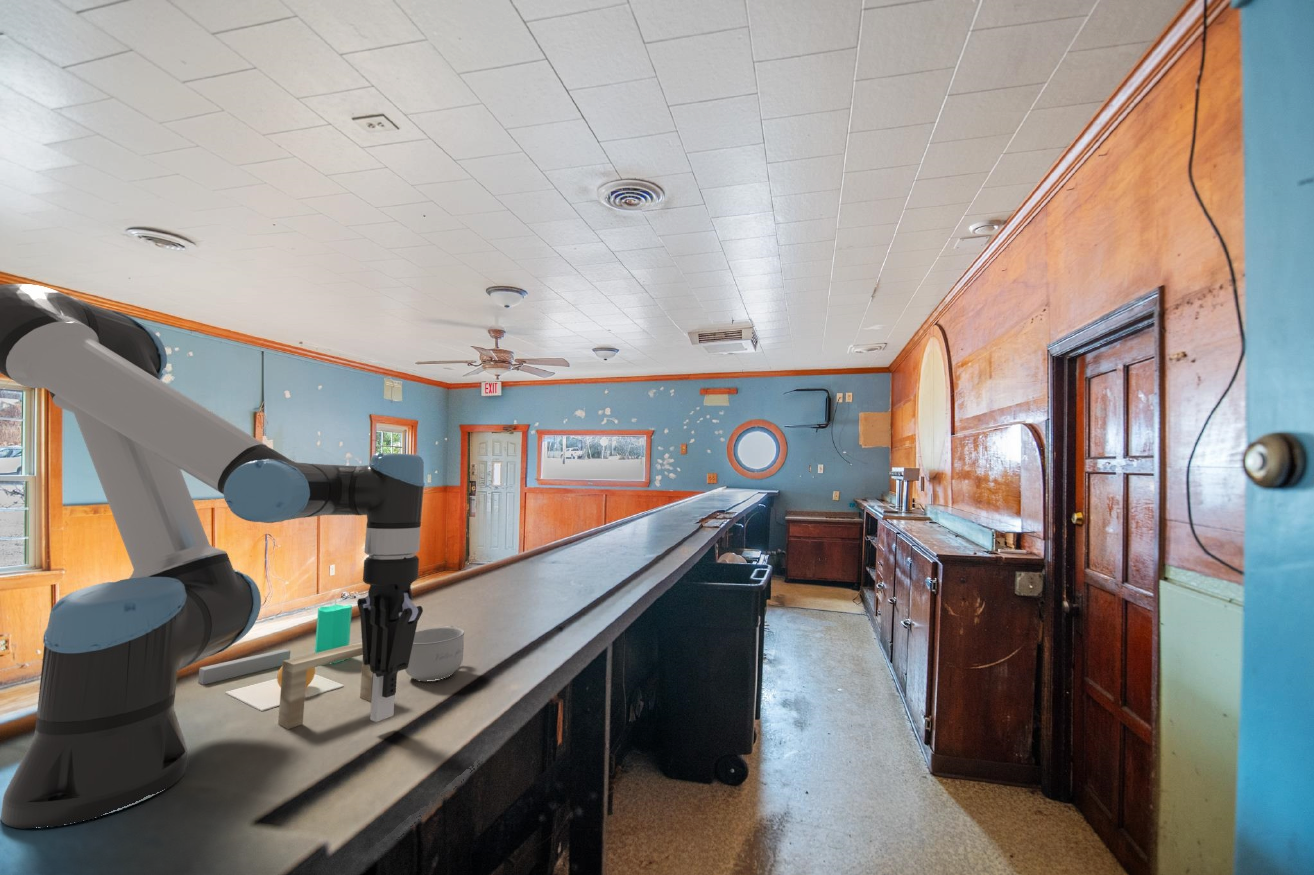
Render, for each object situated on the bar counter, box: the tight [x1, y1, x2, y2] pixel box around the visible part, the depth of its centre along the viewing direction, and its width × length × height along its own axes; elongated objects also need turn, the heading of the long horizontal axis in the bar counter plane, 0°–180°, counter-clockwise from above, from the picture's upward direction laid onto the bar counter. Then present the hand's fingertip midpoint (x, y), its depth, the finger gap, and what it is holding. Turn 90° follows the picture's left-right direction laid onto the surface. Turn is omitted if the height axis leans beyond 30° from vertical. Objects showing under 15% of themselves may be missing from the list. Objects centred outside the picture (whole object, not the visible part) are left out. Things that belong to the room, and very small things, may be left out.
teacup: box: [404, 625, 465, 682], centre depth 105 cm, size 14×11×8 cm
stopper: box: [197, 648, 291, 685], centre depth 103 cm, size 14×2×2 cm, turn 149°
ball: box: [276, 665, 316, 687], centre depth 95 cm, size 6×6×6 cm
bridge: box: [277, 641, 373, 730], centre depth 88 cm, size 3×14×9 cm, turn 149°
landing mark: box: [224, 673, 345, 712], centre depth 95 cm, size 13×13×1 cm
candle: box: [314, 599, 353, 665], centre depth 112 cm, size 6×6×12 cm
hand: (381, 717), depth 81 cm, fingers closed
